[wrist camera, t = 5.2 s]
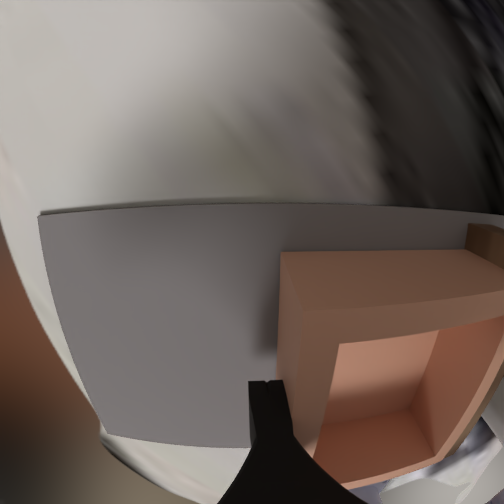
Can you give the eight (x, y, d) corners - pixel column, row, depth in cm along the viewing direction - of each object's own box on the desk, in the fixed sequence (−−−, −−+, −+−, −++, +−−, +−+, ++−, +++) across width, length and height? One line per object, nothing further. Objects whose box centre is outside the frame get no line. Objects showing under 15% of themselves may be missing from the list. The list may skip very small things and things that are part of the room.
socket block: (413, 410, 14) (441, 460, 10) (272, 432, 14) (278, 499, 9) (465, 249, 11) (530, 284, 7) (280, 252, 11) (302, 311, 6)
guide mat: (451, 408, 15) (452, 409, 15) (108, 431, 14) (107, 433, 14) (514, 216, 11) (517, 217, 11) (39, 215, 10) (37, 216, 10)
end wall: (430, 414, 14) (453, 454, 11) (406, 421, 14) (428, 464, 11) (492, 224, 11) (547, 247, 7) (468, 223, 11) (528, 247, 7)
